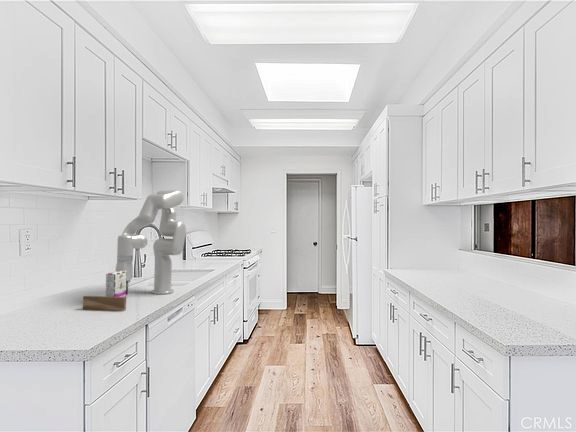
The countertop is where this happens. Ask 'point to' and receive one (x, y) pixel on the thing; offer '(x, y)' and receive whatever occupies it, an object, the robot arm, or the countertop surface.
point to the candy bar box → (116, 284)
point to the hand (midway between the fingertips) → (124, 294)
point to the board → (104, 303)
